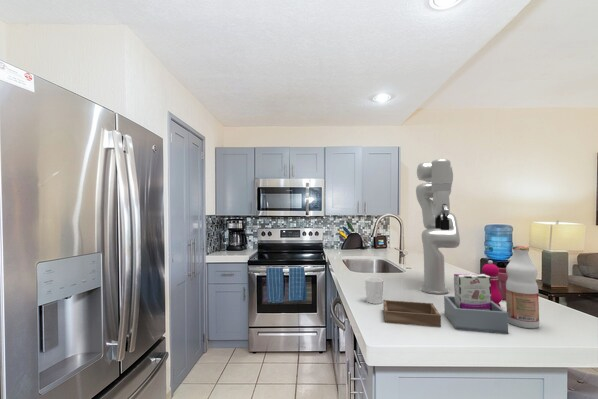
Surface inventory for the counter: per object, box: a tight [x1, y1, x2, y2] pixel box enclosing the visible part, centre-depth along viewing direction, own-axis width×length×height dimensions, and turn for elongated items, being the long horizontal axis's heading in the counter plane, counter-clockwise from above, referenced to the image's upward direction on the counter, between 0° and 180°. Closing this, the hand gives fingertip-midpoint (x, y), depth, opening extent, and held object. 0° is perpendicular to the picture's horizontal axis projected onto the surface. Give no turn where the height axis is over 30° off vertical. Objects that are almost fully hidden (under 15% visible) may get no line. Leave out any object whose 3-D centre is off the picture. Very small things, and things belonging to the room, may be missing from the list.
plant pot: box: [497, 267, 508, 301], centre depth 138 cm, size 14×14×13 cm
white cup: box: [364, 277, 384, 305], centre depth 133 cm, size 8×8×10 cm
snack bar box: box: [453, 273, 492, 311], centre depth 108 cm, size 11×5×16 cm, turn 87°
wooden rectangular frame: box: [382, 299, 442, 328], centre depth 113 cm, size 14×19×4 cm
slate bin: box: [443, 295, 509, 335], centre depth 108 cm, size 16×16×7 cm
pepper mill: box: [481, 259, 503, 307], centre depth 124 cm, size 7×7×20 cm
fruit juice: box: [505, 245, 540, 329], centre depth 107 cm, size 9×9×28 cm
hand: (441, 229), depth 124 cm, fingers open, 9 cm apart
